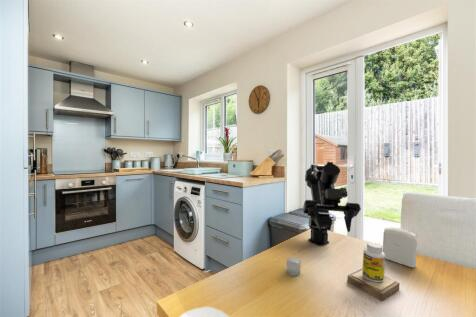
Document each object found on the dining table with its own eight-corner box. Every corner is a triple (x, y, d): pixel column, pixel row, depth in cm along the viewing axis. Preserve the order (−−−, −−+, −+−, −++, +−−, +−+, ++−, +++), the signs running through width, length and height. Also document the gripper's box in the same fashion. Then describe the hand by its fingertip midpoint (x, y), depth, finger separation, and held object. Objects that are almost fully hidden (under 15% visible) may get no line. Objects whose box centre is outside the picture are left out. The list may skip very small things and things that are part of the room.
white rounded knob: (283, 272, 73) (284, 260, 73) (290, 267, 76) (291, 256, 76) (296, 278, 70) (296, 265, 70) (302, 272, 73) (303, 260, 73)
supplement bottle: (359, 276, 67) (361, 243, 67) (366, 270, 71) (367, 239, 70) (380, 285, 63) (382, 250, 63) (386, 278, 67) (388, 245, 66)
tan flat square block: (347, 281, 69) (347, 274, 68) (364, 272, 74) (365, 266, 74) (382, 300, 60) (382, 292, 60) (399, 289, 65) (399, 281, 65)
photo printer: (380, 257, 85) (382, 226, 84) (384, 254, 88) (386, 223, 87) (413, 269, 77) (416, 234, 76) (417, 265, 80) (419, 231, 79)
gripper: (305, 177, 80) (310, 217, 70) (360, 180, 78) (373, 221, 68) (301, 194, 89) (304, 232, 78) (350, 197, 86) (360, 236, 76)
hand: (334, 230), depth 75 cm, fingers open, 9 cm apart
